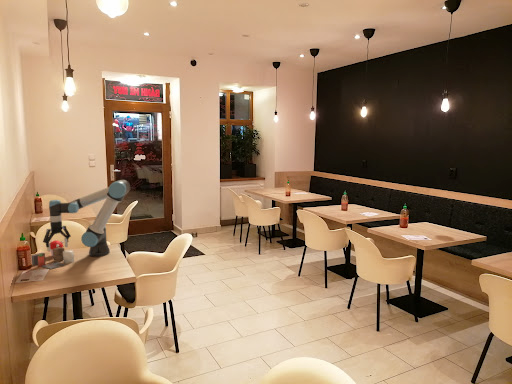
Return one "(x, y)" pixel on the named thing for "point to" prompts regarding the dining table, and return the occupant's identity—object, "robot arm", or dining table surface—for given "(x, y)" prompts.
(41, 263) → the sauce shaker
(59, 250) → the walnut block
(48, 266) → the slate coaster
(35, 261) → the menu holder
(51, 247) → the mushroom
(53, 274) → the dining table surface
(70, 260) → the beige rounded block
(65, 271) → the dining table surface
